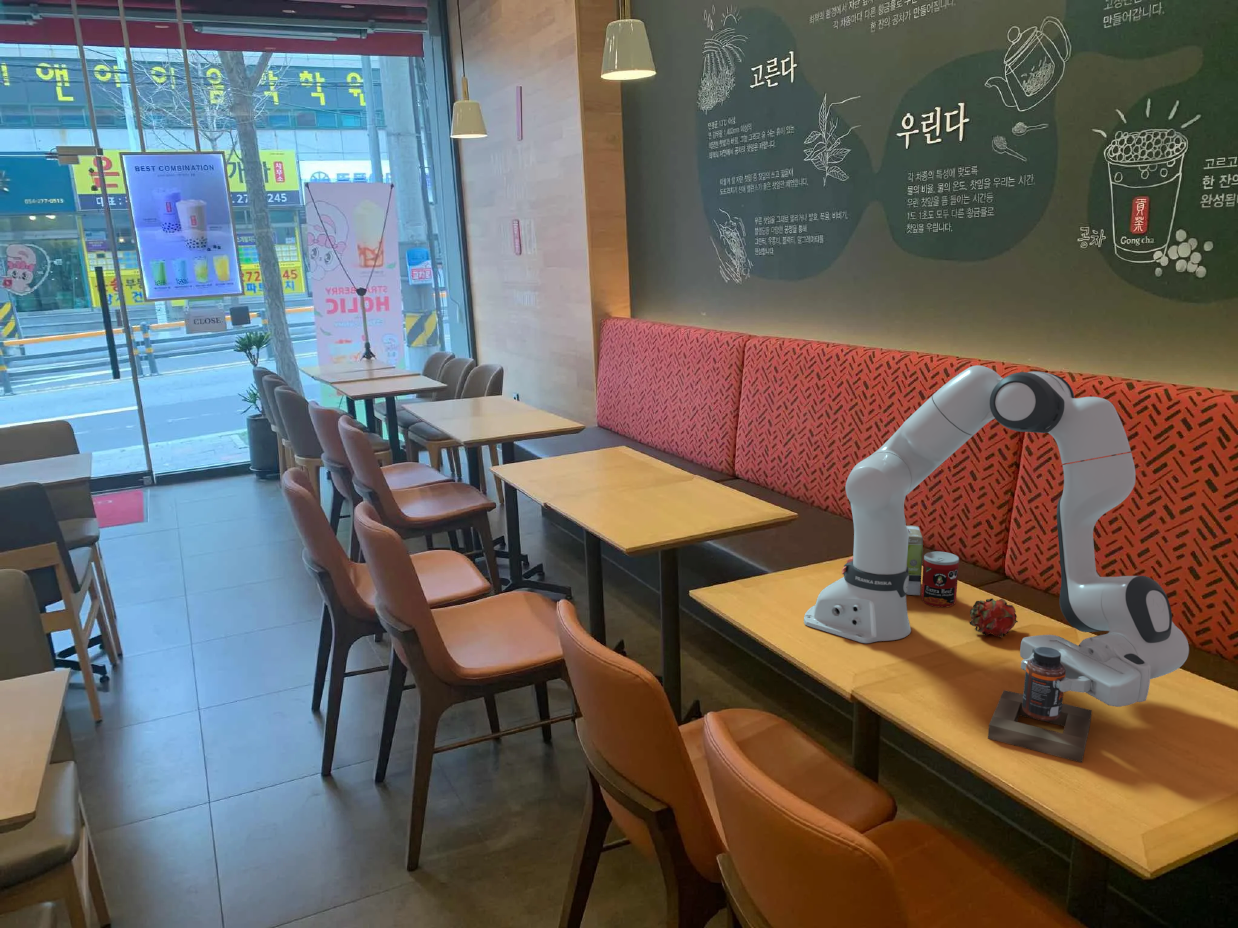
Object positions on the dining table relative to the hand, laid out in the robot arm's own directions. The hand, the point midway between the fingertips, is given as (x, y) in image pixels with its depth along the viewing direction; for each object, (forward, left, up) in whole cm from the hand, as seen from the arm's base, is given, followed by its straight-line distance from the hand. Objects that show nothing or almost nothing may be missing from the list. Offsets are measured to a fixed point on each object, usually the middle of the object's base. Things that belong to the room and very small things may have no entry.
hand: (1040, 675), depth 145 cm
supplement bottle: (+1, +1, -7) cm, 7 cm away
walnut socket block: (+1, +1, -10) cm, 10 cm away
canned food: (-27, +51, -10) cm, 59 cm away
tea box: (-40, +54, -10) cm, 68 cm away
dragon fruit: (-13, +39, -10) cm, 42 cm away
